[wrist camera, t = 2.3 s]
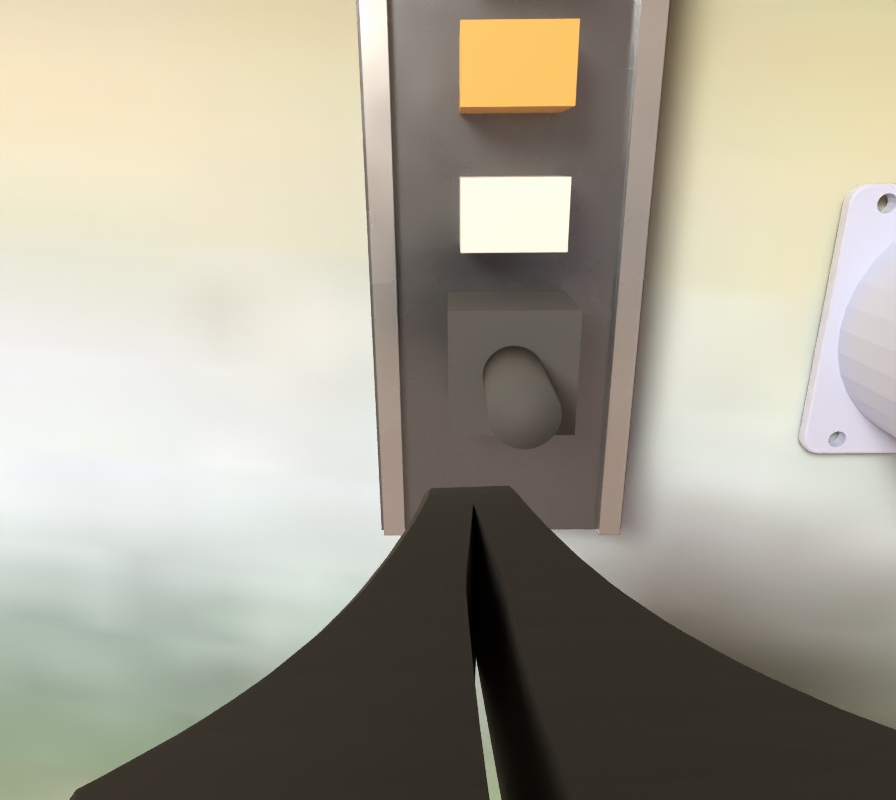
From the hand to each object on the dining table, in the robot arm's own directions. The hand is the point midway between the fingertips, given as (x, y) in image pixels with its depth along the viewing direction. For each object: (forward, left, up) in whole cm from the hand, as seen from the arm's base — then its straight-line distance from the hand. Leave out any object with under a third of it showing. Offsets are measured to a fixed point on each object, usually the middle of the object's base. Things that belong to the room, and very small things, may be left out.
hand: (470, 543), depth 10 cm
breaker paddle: (-1, -5, -8) cm, 9 cm away
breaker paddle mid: (-1, -8, -8) cm, 11 cm away
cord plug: (-1, -1, -8) cm, 8 cm away
